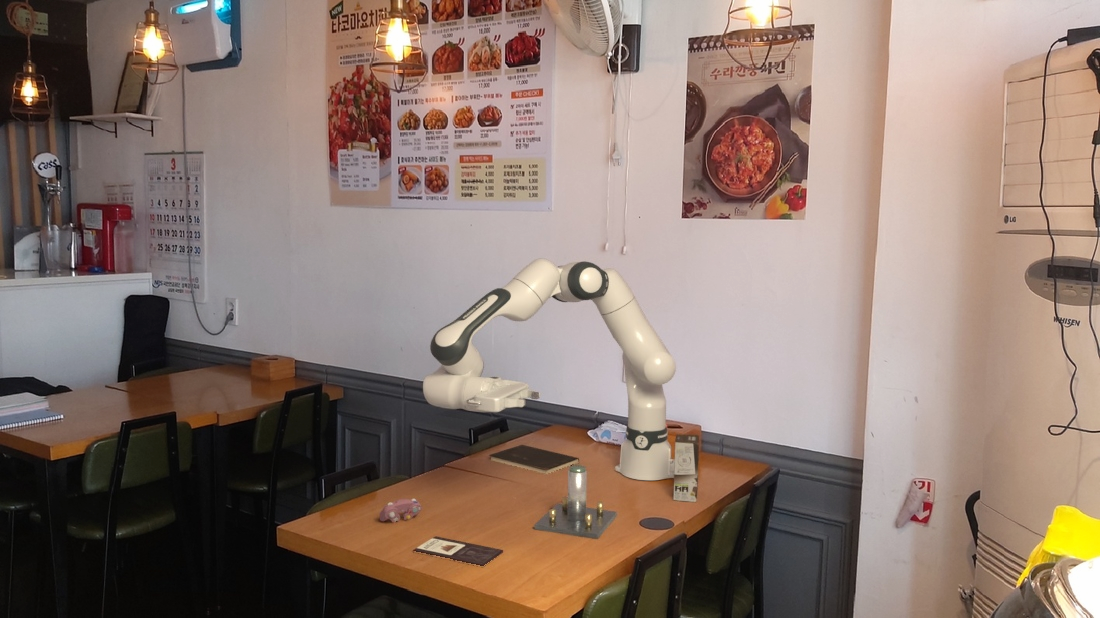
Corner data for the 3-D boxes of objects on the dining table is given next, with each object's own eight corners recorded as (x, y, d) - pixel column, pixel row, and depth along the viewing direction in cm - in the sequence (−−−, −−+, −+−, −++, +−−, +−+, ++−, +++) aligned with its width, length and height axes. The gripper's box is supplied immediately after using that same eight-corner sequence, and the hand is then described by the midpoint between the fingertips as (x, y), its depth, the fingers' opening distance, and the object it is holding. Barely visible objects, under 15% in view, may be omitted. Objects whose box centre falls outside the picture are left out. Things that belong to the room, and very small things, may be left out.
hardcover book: (546, 477, 238) (546, 469, 238) (489, 462, 253) (489, 454, 253) (579, 464, 251) (579, 457, 250) (523, 451, 265) (523, 444, 265)
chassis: (557, 507, 211) (557, 492, 211) (616, 516, 205) (617, 500, 205) (534, 529, 196) (534, 512, 196) (597, 539, 190) (597, 521, 190)
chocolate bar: (482, 565, 174) (413, 550, 182) (482, 569, 174) (413, 554, 182) (503, 550, 182) (435, 536, 190) (503, 554, 182) (435, 540, 190)
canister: (570, 513, 204) (571, 463, 202) (588, 516, 202) (589, 465, 201) (564, 519, 199) (565, 468, 198) (582, 522, 198) (583, 471, 196)
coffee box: (697, 502, 216) (699, 443, 214) (672, 500, 217) (674, 441, 216) (698, 491, 225) (699, 434, 223) (674, 489, 226) (676, 433, 224)
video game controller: (382, 531, 198) (386, 510, 195) (377, 517, 202) (380, 497, 198) (420, 524, 203) (425, 503, 200) (415, 511, 207) (419, 490, 203)
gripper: (462, 390, 197) (515, 394, 192) (498, 375, 216) (546, 379, 211) (462, 415, 197) (515, 421, 193) (498, 398, 216) (546, 403, 212)
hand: (531, 399), depth 202 cm, fingers open, 8 cm apart
